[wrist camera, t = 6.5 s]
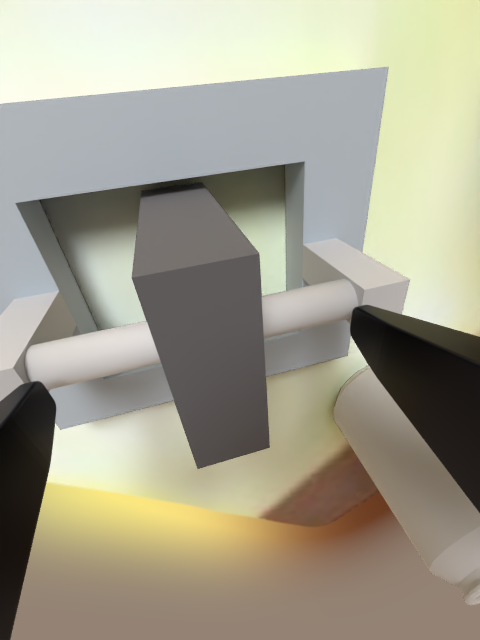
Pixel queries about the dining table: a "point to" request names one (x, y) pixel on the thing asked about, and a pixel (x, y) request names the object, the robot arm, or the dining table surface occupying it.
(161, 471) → the dining table surface
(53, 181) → the square frame
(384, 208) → the dining table surface
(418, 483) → the can
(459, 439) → the robot arm
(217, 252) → the tall grey upright block
